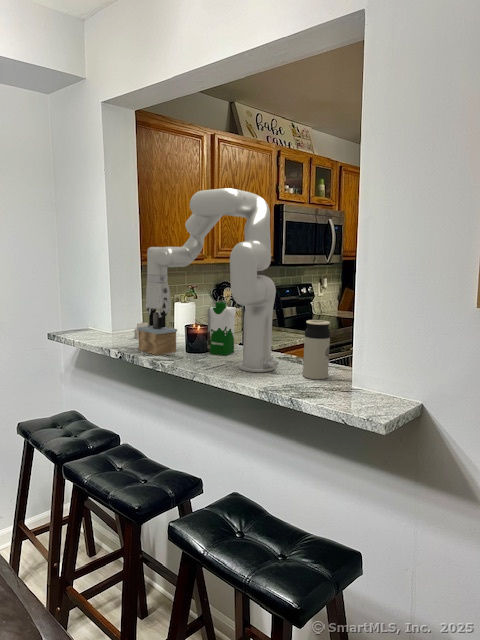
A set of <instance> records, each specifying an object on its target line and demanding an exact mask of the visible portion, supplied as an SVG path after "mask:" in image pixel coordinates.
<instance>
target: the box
mask: <svg viewBox="0 0 480 640" xmlns="http://www.w3.org/2000/svg"><path fill="white" fill-rule="evenodd" d="M140 350H141V352H144V351H145V353H147V354H151V353H152V355H156V356H161V355H165V354H166V353H167V354H172V352H173V353H177V332H171V333H164V334H153V333H149V332H144V331H140V330H139V339H138V351H140ZM160 354H161V355H160Z"/></svg>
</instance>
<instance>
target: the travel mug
mask: <svg viewBox="0 0 480 640" xmlns="http://www.w3.org/2000/svg"><path fill="white" fill-rule="evenodd" d="M305 323H306V326H307V327H306V329H305V331H304V342H303V344H304V346H303V363H302V364H303V366H302V376H303V377H305V379H309V380H314V381H315V380H316V381H317V380H325V379H327V378H329V363H330V345H331V343H330V342H331V331H330V329H329V326H330V324H331V322H330V321H329V320H328V321H327V320H321V319H308V320H306V322H305Z"/></svg>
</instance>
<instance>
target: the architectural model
mask: <svg viewBox="0 0 480 640" xmlns="http://www.w3.org/2000/svg"><path fill="white" fill-rule="evenodd" d="M146 326H149V321H148V322H139V323H136V327H135V329H134V330H132V332H133V333H134V339H135V340H139V330H138V327H146Z"/></svg>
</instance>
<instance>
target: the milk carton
mask: <svg viewBox="0 0 480 640" xmlns="http://www.w3.org/2000/svg"><path fill="white" fill-rule="evenodd" d="M209 308H210V317H211V323H210V348H209V354H210V355H217V356H218V355H219V356H225V357H227V356H228V355H230V354H234V353H235V322H236V321H235V318H236V310H237V307H235V306H234V307H233V306H227V303H226V302H224V301H216V302H215V306H213V307H209Z"/></svg>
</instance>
